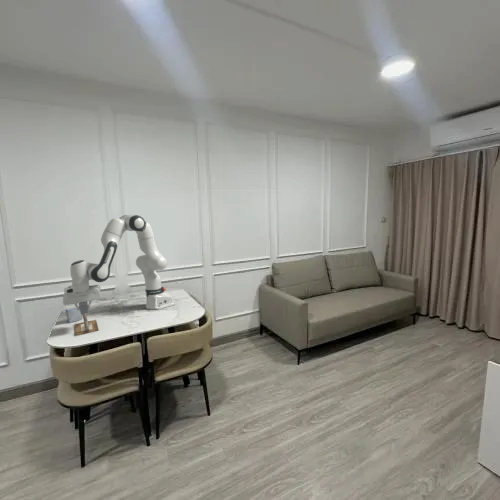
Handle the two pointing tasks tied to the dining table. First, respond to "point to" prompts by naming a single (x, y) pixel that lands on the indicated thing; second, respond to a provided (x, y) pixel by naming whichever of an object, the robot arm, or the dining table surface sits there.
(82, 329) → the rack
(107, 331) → the dining table surface
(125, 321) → the dining table surface
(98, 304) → the dining table surface
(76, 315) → the medicine box
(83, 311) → the grey round-headed bar
